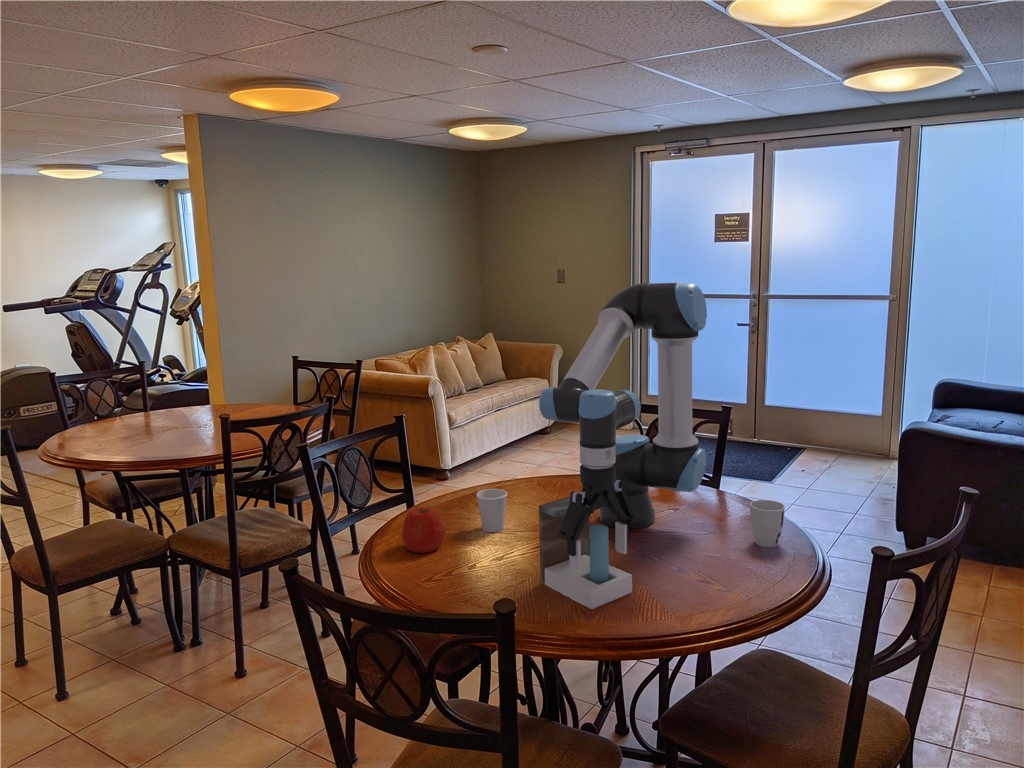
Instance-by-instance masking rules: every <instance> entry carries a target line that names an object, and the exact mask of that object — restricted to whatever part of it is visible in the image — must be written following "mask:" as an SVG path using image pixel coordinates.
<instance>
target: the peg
mask: <svg viewBox="0 0 1024 768" xmlns="http://www.w3.org/2000/svg"><path fill="white" fill-rule="evenodd" d="M589 539H590V581H592V582H594V583H596V584H598V585H600V584H602V583H605V582H607V581H609V565H610V563H609V561H610V559H609V555H610V554H609V553H610V552H609V548H610V547H609V527H608V525H606V524H593V525H589Z"/></svg>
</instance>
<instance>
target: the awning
mask: <svg viewBox="0 0 1024 768" xmlns="http://www.w3.org/2000/svg"><path fill="white" fill-rule="evenodd" d="M569 503H570V496H566V497H563V498H560V499H555V500H553V501H550V502H546V503H542V504H539V505H538V527H539V528H538V529H539V531H538V532H539V533H538V534H539V568H540V570H539V572H540V573H539V574H540V575H539V576H540V584H541V583H543V584H544V583H545V568H547V567H550V566H553V565H556V564H559V563H561V562H564V561H567V560H569V555H568V553H567V540H564V539H562V538H560V537H559V533H560V530H561V527H562V524H563V521H564V518H565V515H566V512H567V509H568V506H569ZM586 507H588V505H587V504H586ZM589 520H590V517H589V518H588V520H587V522H586V524H585V526H584V528H583V530H582V532H581V534H580V536H579V537H578V540H580V541H581V555H584V554H585V555H587V556H589V539H590V533H589V528H590V521H589ZM572 535H574V533H573V534H572ZM543 584H542V585H543ZM544 585H545V584H544Z"/></svg>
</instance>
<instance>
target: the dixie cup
mask: <svg viewBox="0 0 1024 768" xmlns="http://www.w3.org/2000/svg"><path fill="white" fill-rule="evenodd" d="M475 496H476V499H477V502H478V503H477V504H478V510H479V515H480V522H481V527H482V531H483V530H484V532H485V531H486V532H485V533H489V532H495V533H499V532H502V531H504V525H505V517H506V516H505V515H506V503H507V496H508V492H507V491H506V490H504V489H499V488H487V489H486V488H485V489H483V490H480V491H478V492H477V493H476V495H475Z"/></svg>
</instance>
